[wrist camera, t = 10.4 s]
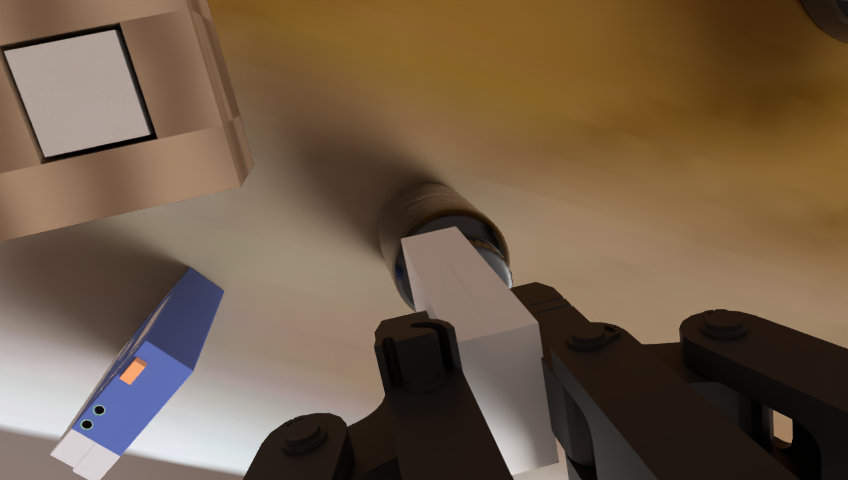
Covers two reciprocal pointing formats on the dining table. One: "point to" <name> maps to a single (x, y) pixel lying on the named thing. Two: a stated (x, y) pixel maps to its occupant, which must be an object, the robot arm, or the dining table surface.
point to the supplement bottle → (431, 212)
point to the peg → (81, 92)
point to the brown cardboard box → (133, 158)
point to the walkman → (141, 377)
